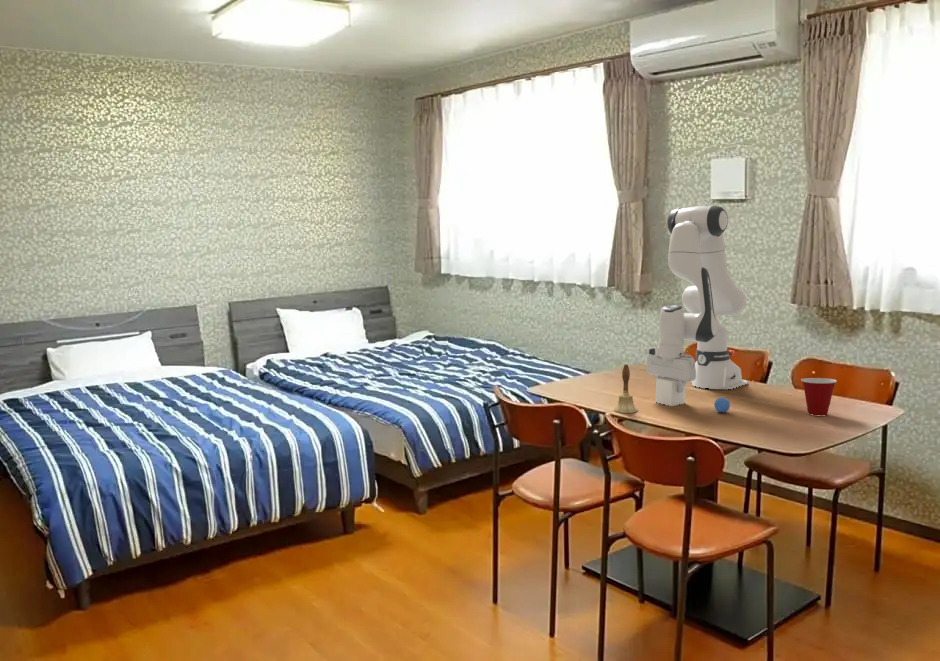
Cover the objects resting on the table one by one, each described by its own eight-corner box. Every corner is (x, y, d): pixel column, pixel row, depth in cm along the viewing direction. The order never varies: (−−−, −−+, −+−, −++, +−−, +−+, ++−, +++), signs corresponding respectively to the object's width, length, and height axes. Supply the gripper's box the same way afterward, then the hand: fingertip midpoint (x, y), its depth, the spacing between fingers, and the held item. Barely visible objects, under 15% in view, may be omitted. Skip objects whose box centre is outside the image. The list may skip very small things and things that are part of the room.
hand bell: (608, 409, 283) (609, 363, 281) (629, 406, 287) (629, 361, 284) (622, 414, 276) (622, 367, 274) (643, 411, 279) (643, 365, 277)
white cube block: (669, 399, 296) (670, 375, 294) (685, 403, 290) (685, 378, 289) (655, 402, 292) (656, 378, 290) (671, 406, 286) (671, 381, 285)
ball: (720, 409, 279) (721, 395, 279) (732, 412, 275) (733, 398, 275) (711, 412, 277) (711, 397, 276) (723, 414, 273) (723, 400, 272)
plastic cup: (827, 410, 276) (828, 375, 274) (840, 418, 265) (842, 381, 264) (794, 410, 276) (796, 375, 275) (806, 418, 266) (808, 382, 264)
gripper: (700, 354, 281) (699, 393, 283) (655, 347, 298) (655, 384, 300) (688, 356, 278) (687, 396, 280) (643, 348, 295) (643, 386, 296)
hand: (670, 390), depth 290 cm, fingers closed on white cube block, 7 cm apart
